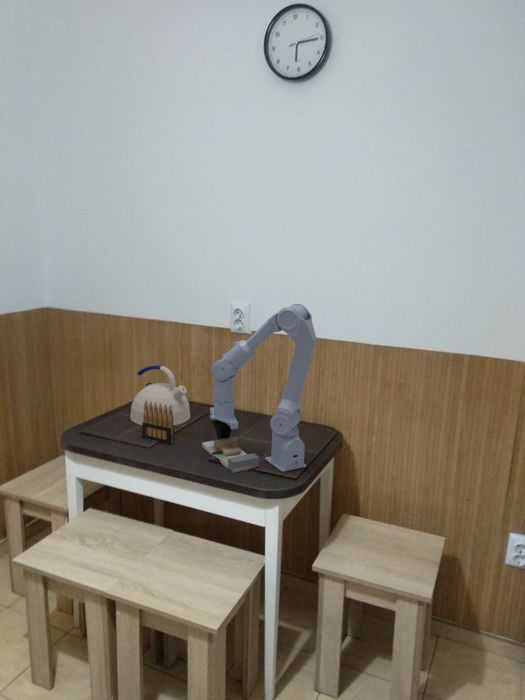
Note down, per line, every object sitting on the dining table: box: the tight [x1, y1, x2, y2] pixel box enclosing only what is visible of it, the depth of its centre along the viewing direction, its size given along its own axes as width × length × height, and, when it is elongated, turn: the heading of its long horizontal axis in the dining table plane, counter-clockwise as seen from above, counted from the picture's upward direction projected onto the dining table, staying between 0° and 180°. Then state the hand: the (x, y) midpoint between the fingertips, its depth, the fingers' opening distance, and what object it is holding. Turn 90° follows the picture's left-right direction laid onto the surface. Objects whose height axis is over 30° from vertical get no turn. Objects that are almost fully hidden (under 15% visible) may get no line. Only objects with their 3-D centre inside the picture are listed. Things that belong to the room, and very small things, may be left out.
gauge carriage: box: [211, 436, 242, 456], centre depth 152 cm, size 5×9×3 cm, turn 120°
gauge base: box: [201, 440, 260, 474], centre depth 152 cm, size 20×8×3 cm, turn 30°
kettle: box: [129, 365, 191, 426], centre depth 182 cm, size 20×21×18 cm
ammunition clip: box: [141, 400, 176, 446], centre depth 161 cm, size 11×2×12 cm, turn 65°
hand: (222, 444), depth 156 cm, fingers closed
